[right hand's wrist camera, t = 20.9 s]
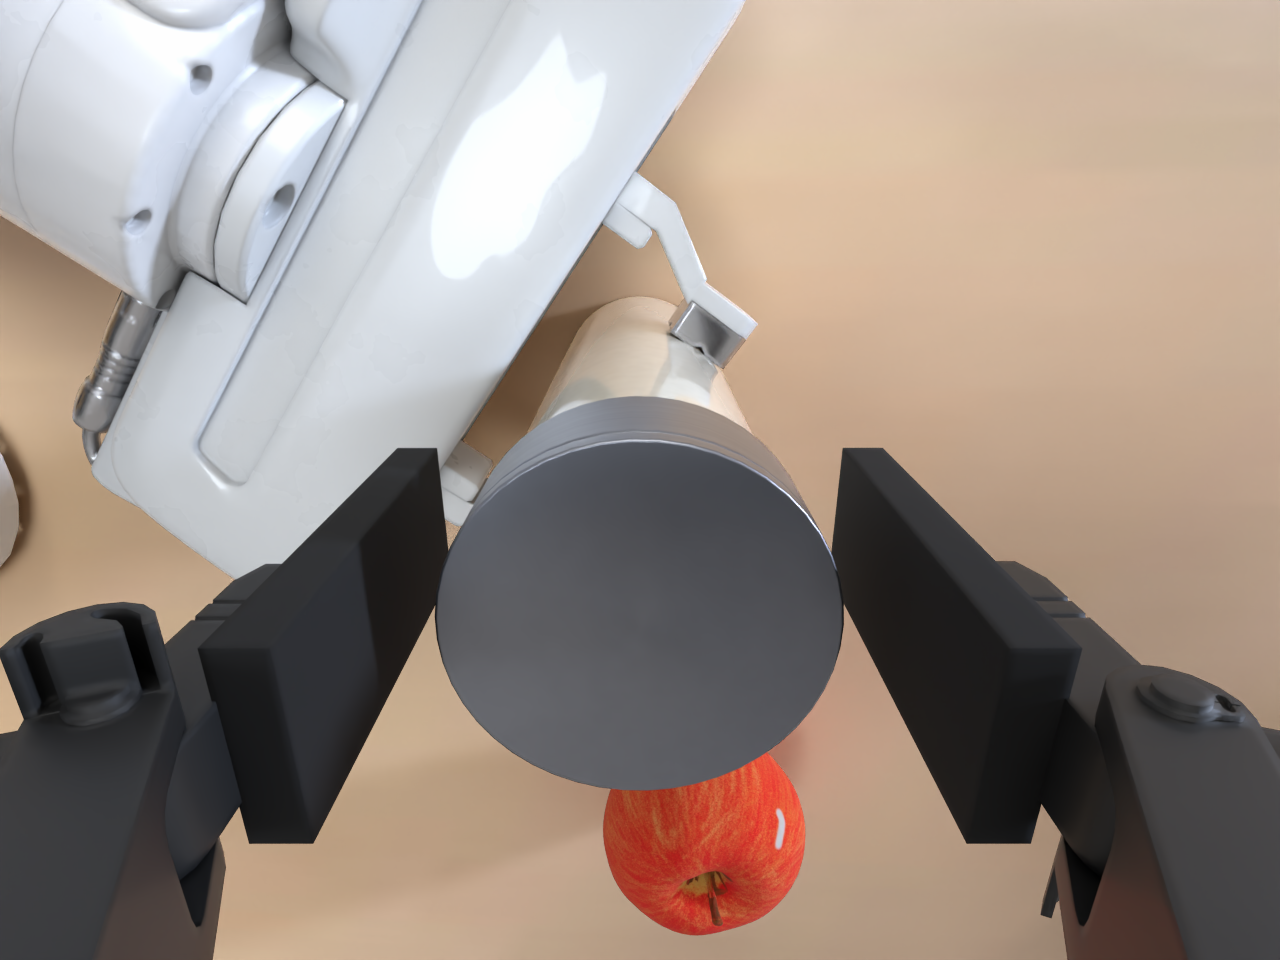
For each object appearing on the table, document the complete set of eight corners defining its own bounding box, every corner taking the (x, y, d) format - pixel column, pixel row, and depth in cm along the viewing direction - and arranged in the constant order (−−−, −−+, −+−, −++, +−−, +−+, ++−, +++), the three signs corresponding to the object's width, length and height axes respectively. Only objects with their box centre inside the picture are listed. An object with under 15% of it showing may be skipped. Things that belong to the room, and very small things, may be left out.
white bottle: (573, 442, 27) (488, 751, 12) (560, 300, 25) (438, 448, 10) (712, 435, 27) (809, 738, 12) (710, 291, 25) (822, 429, 10)
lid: (447, 403, 11) (402, 448, 9) (816, 387, 11) (858, 429, 9) (491, 704, 13) (463, 798, 11) (802, 693, 13) (833, 785, 11)
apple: (716, 653, 30) (741, 801, 23) (817, 772, 33) (870, 941, 25) (570, 744, 32) (549, 909, 24) (676, 850, 34) (686, 1031, 27)
